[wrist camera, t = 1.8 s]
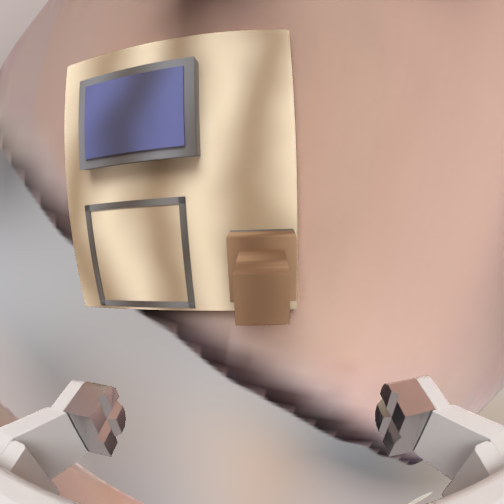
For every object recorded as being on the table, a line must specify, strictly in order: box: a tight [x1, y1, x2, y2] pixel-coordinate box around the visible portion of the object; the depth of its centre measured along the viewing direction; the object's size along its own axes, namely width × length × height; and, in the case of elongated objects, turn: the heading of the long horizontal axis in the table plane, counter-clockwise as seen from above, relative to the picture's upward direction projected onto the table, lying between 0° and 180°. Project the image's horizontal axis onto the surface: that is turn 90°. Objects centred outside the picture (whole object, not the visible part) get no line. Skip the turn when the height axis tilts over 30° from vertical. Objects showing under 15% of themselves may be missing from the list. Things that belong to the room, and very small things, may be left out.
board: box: [65, 30, 297, 311], centre depth 20 cm, size 18×21×3 cm
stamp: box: [226, 229, 297, 325], centre depth 19 cm, size 4×4×7 cm
